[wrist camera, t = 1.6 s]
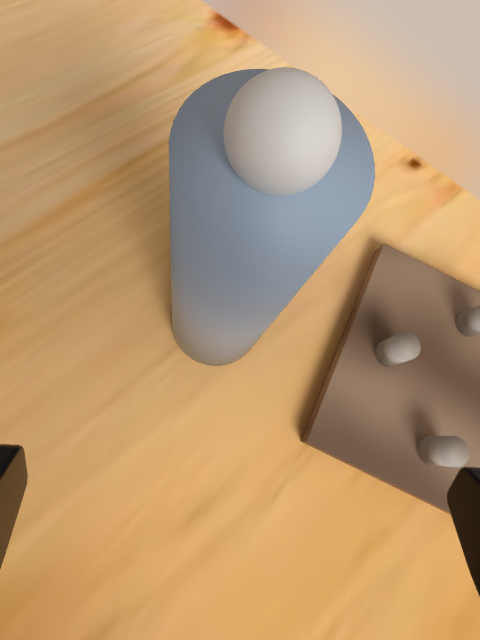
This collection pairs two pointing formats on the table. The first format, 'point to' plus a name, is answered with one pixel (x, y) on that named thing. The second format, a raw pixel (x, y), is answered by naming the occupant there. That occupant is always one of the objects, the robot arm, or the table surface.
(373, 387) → the brown pegged base plate
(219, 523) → the table surface
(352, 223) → the pepper mill
